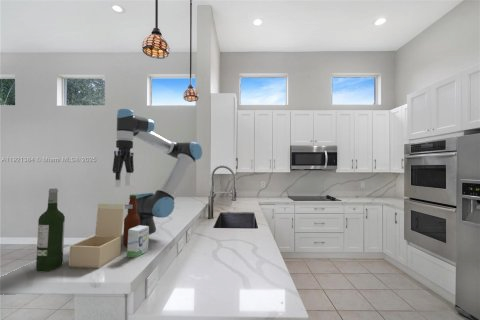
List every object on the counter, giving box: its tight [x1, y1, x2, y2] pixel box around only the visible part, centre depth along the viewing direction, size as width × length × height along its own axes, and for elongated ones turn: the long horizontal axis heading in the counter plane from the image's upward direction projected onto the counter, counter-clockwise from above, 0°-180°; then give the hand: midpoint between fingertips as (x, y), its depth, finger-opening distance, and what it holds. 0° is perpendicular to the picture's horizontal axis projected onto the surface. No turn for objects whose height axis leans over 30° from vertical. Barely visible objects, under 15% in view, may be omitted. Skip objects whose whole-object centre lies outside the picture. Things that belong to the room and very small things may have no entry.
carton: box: [68, 235, 122, 269], centre depth 96 cm, size 14×12×8 cm
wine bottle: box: [35, 188, 66, 272], centre depth 89 cm, size 8×8×30 cm
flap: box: [94, 203, 133, 238], centre depth 108 cm, size 14×12×8 cm
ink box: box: [126, 225, 150, 259], centre depth 104 cm, size 9×5×12 cm, turn 168°
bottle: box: [122, 194, 140, 248], centre depth 116 cm, size 7×7×25 cm
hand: (123, 186), depth 115 cm, fingers open, 8 cm apart
